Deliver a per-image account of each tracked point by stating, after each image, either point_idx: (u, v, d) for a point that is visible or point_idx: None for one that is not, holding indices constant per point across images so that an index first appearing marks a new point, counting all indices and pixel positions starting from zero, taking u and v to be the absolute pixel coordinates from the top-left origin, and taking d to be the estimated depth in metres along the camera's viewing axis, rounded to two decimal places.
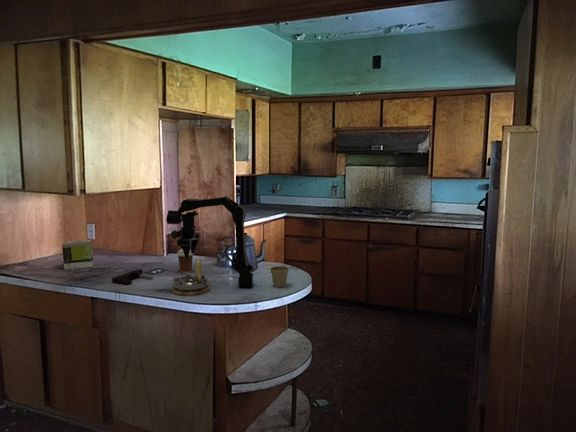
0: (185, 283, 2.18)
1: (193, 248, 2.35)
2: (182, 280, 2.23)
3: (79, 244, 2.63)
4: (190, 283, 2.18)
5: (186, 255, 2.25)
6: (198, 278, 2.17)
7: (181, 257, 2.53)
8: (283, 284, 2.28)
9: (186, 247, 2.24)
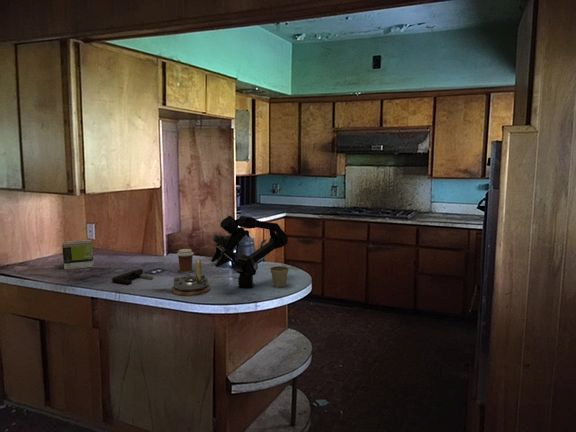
0: (185, 283, 2.18)
1: (216, 257, 2.26)
2: (182, 280, 2.23)
3: (79, 244, 2.63)
4: (190, 283, 2.18)
5: (218, 264, 2.16)
6: (198, 278, 2.17)
7: (181, 257, 2.53)
8: (283, 284, 2.28)
9: (224, 258, 2.16)
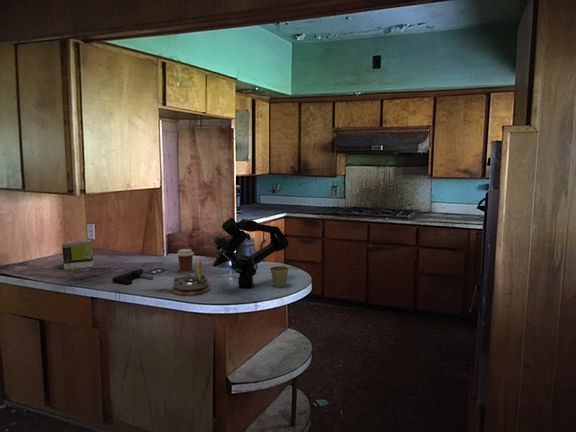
0: (185, 283, 2.18)
1: None
2: (182, 280, 2.23)
3: (79, 244, 2.63)
4: (190, 283, 2.18)
5: (216, 264, 2.20)
6: (198, 278, 2.17)
7: (181, 257, 2.53)
8: (283, 284, 2.28)
9: (223, 258, 2.20)
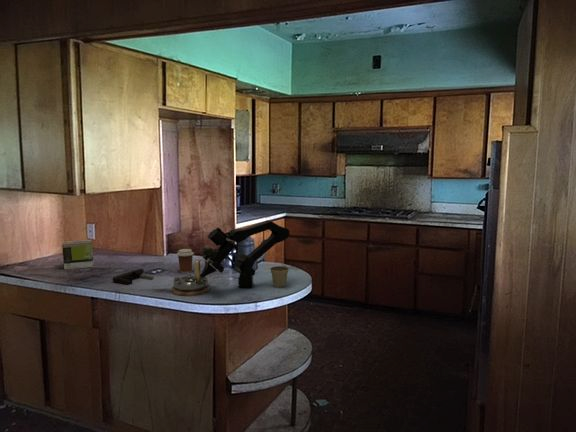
0: (184, 283, 2.18)
1: None
2: (182, 280, 2.23)
3: (79, 244, 2.63)
4: (189, 283, 2.18)
5: (203, 275, 2.18)
6: (197, 278, 2.17)
7: (181, 257, 2.53)
8: (283, 284, 2.28)
9: (210, 269, 2.18)
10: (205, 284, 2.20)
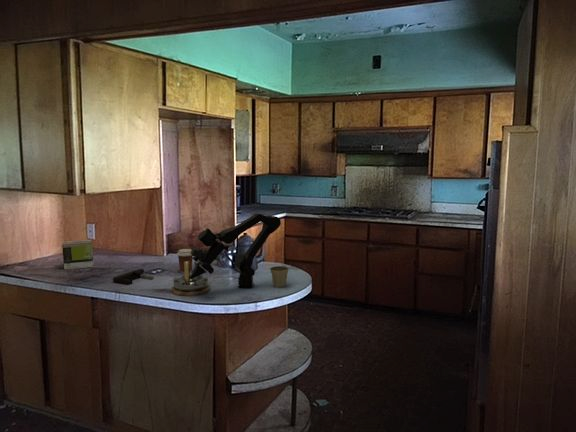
0: (180, 281, 2.21)
1: None
2: None
3: (79, 244, 2.63)
4: None
5: (193, 276, 2.15)
6: (185, 279, 2.15)
7: (181, 257, 2.53)
8: (283, 284, 2.28)
9: (200, 270, 2.16)
10: (195, 287, 2.16)
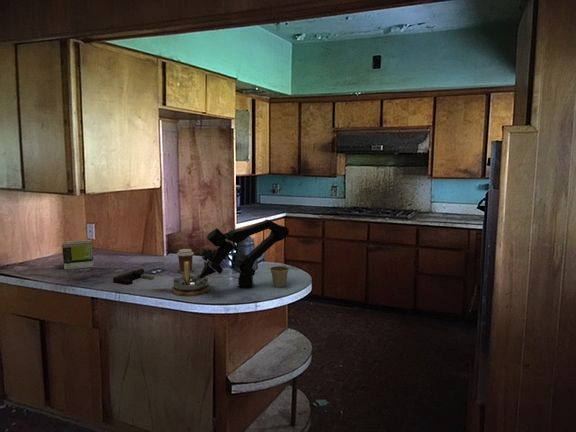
0: (180, 281, 2.21)
1: None
2: None
3: (79, 244, 2.63)
4: None
5: (202, 276, 2.18)
6: (185, 279, 2.15)
7: (181, 257, 2.53)
8: (283, 284, 2.28)
9: (209, 270, 2.18)
10: (195, 287, 2.16)
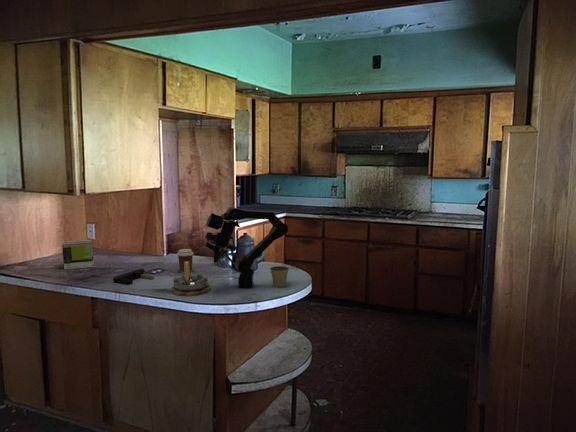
0: (180, 281, 2.21)
1: None
2: None
3: (79, 244, 2.63)
4: None
5: (215, 260, 2.23)
6: (185, 279, 2.15)
7: (181, 257, 2.53)
8: (283, 284, 2.28)
9: (218, 252, 2.22)
10: (195, 287, 2.16)
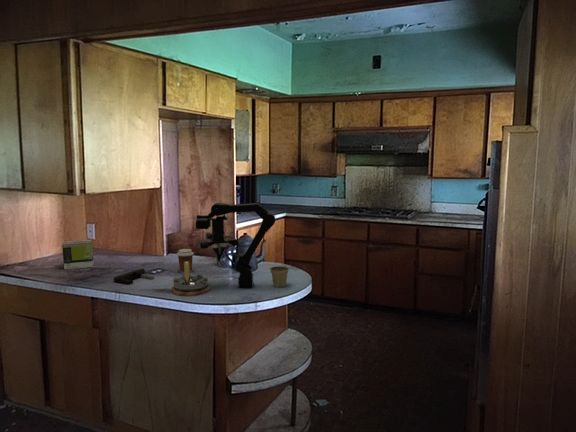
0: (180, 281, 2.21)
1: (219, 255, 2.26)
2: None
3: (79, 244, 2.63)
4: None
5: (217, 258, 2.27)
6: (185, 279, 2.15)
7: (181, 257, 2.53)
8: (283, 284, 2.28)
9: None
10: (195, 287, 2.16)
